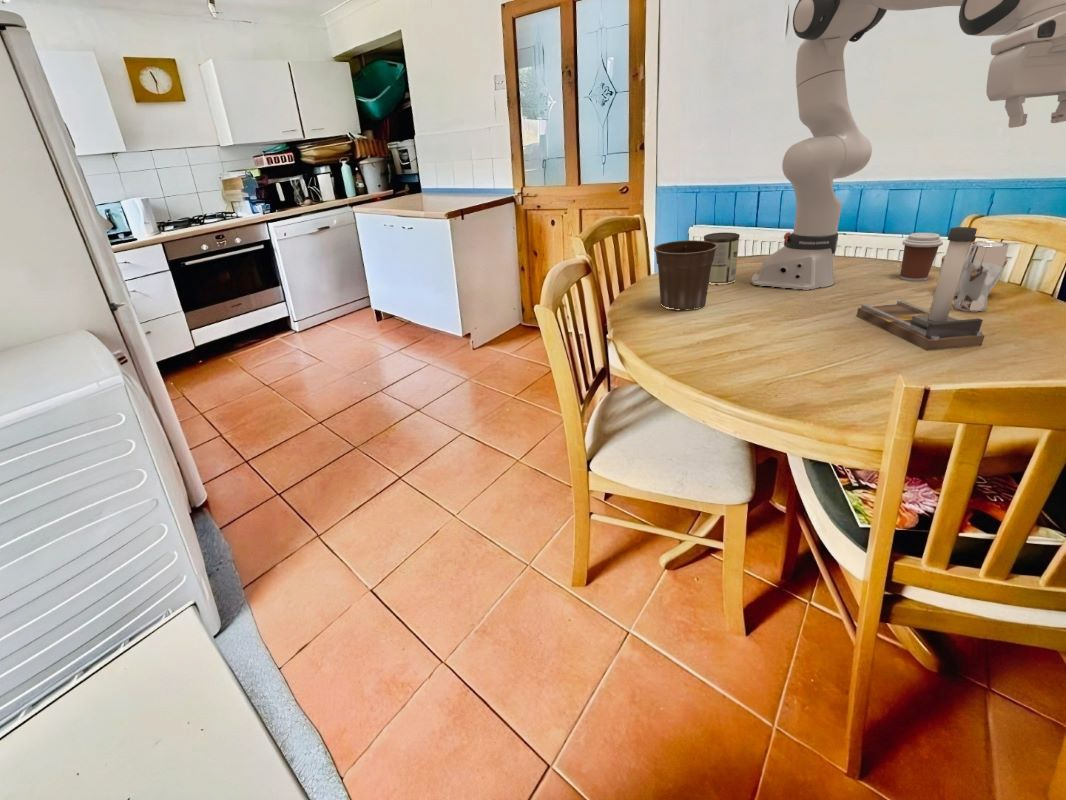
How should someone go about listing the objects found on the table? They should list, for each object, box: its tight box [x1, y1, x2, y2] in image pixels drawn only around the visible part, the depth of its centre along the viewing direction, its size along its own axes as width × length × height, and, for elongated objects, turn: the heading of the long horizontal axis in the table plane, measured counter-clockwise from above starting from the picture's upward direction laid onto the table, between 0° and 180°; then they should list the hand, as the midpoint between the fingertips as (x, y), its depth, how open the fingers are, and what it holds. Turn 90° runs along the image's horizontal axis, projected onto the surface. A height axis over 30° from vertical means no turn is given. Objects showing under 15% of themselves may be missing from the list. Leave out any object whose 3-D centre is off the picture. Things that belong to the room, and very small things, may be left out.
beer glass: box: [952, 240, 1010, 313], centre depth 116 cm, size 7×7×15 cm
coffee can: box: [703, 232, 740, 283], centre depth 156 cm, size 10×10×14 cm
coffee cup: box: [899, 232, 944, 282], centre depth 142 cm, size 9×9×12 cm
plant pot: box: [653, 239, 718, 310], centre depth 137 cm, size 16×16×16 cm
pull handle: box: [911, 226, 978, 331], centre depth 100 cm, size 6×6×20 cm
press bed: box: [856, 300, 986, 351], centre depth 110 cm, size 23×11×5 cm, turn 2°
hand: (1038, 124), depth 88 cm, fingers open, 8 cm apart
